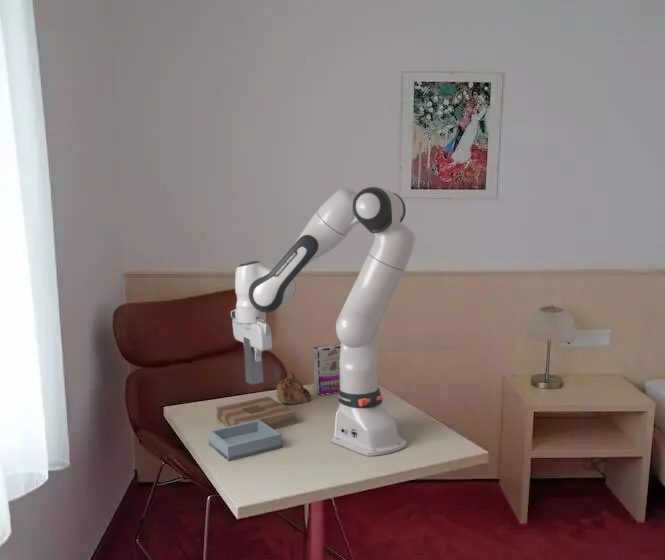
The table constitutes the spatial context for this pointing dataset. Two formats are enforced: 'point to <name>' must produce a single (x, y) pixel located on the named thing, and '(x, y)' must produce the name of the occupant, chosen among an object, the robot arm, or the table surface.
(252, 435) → the tray
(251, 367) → the pin
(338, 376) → the candy bar box
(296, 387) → the decorative rock
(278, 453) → the table surface
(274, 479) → the table surface
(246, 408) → the block
